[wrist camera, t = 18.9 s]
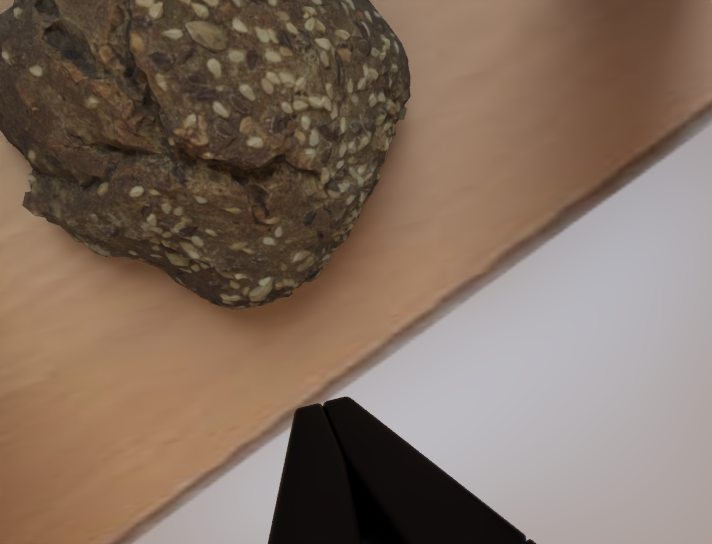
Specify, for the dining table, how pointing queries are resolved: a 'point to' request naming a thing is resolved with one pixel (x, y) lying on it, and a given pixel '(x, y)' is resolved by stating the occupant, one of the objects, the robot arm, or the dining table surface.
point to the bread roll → (203, 130)
